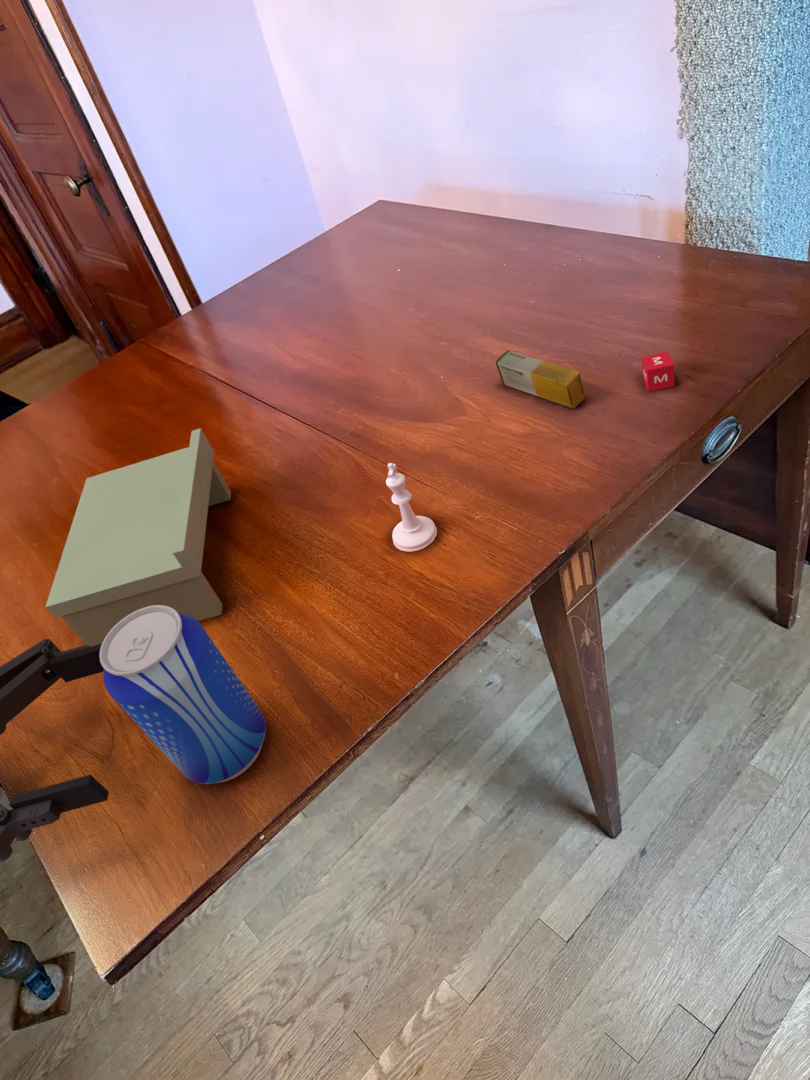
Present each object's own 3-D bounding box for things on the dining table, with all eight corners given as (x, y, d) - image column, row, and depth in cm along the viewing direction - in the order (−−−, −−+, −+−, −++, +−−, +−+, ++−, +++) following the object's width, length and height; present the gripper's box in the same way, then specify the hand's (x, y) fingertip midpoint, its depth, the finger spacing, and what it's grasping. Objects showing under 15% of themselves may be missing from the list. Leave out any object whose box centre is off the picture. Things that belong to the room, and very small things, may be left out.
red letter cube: (674, 386, 88) (674, 364, 86) (648, 391, 88) (647, 370, 86) (668, 373, 90) (667, 351, 88) (642, 378, 90) (641, 357, 88)
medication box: (501, 386, 97) (493, 361, 94) (515, 373, 98) (507, 348, 95) (573, 410, 89) (567, 383, 86) (587, 396, 90) (581, 369, 87)
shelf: (87, 654, 81) (33, 594, 74) (119, 524, 97) (77, 465, 91) (226, 614, 80) (183, 549, 73) (234, 490, 96) (200, 427, 89)
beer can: (167, 754, 68) (71, 648, 58) (240, 692, 71) (161, 580, 61) (212, 810, 63) (114, 704, 52) (289, 740, 66) (211, 627, 55)
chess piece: (388, 552, 80) (360, 482, 73) (398, 520, 83) (373, 450, 77) (432, 551, 78) (407, 479, 72) (440, 518, 82) (418, 447, 75)
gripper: (-43, 687, 75) (152, 630, 74) (-146, 949, 57) (112, 881, 55) (-96, 641, 70) (113, 579, 69) (-227, 912, 52) (54, 836, 50)
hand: (113, 713), depth 62 cm, fingers open, 13 cm apart
